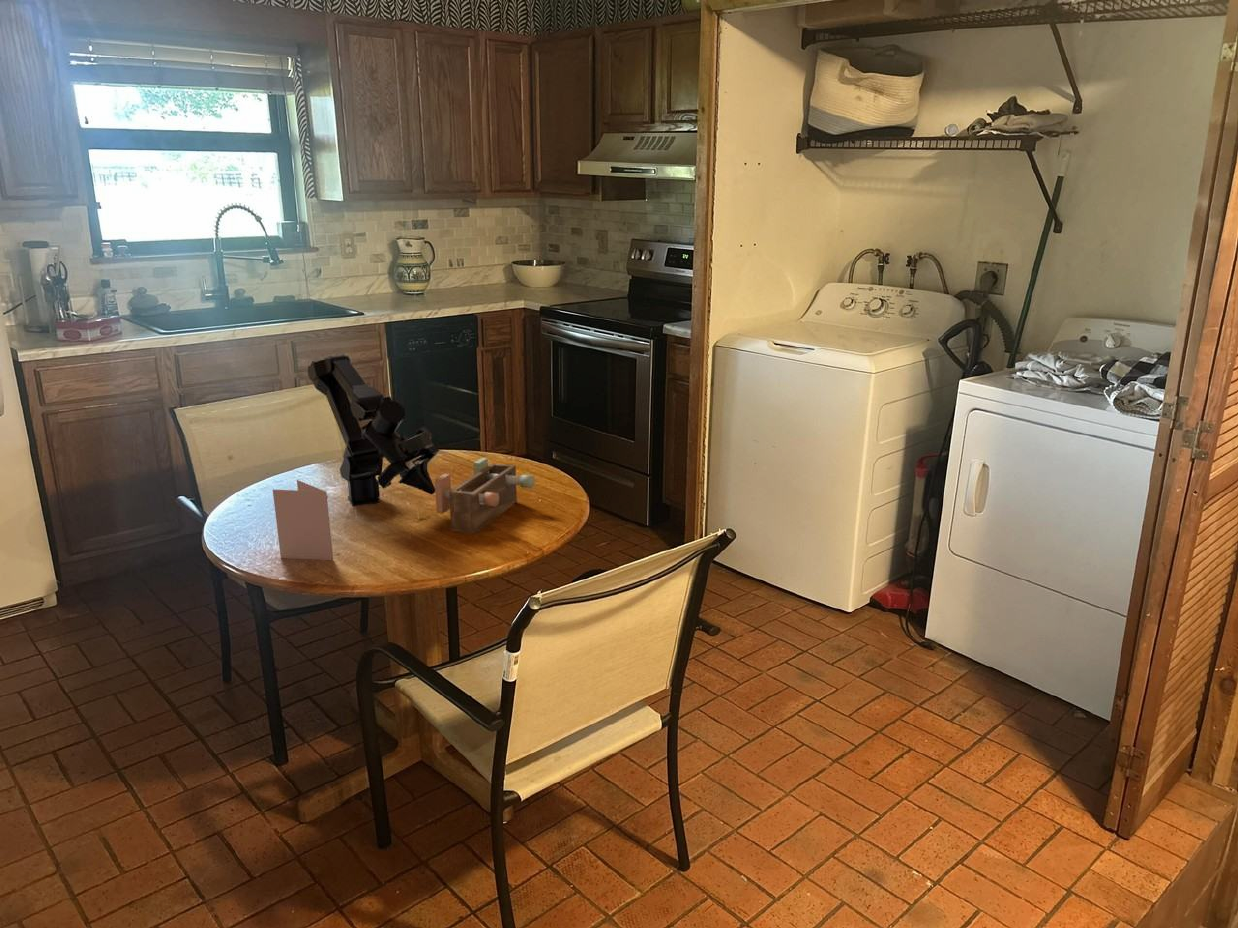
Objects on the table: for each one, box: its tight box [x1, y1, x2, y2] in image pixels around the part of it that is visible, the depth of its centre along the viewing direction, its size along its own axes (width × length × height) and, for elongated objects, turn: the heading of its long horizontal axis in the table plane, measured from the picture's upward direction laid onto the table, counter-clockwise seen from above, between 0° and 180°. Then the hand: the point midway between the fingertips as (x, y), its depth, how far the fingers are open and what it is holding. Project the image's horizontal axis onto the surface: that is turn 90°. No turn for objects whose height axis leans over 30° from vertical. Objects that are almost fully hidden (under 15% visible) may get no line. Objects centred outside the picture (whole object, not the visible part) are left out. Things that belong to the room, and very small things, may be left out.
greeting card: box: [272, 479, 334, 561], centre depth 189 cm, size 11×7×15 cm, turn 48°
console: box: [449, 463, 518, 534], centre depth 213 cm, size 6×22×9 cm, turn 162°
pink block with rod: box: [434, 473, 499, 515], centre depth 206 cm, size 14×4×8 cm, turn 72°
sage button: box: [473, 457, 536, 489], centre depth 218 cm, size 14×4×8 cm, turn 71°
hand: (434, 492), depth 209 cm, fingers closed
